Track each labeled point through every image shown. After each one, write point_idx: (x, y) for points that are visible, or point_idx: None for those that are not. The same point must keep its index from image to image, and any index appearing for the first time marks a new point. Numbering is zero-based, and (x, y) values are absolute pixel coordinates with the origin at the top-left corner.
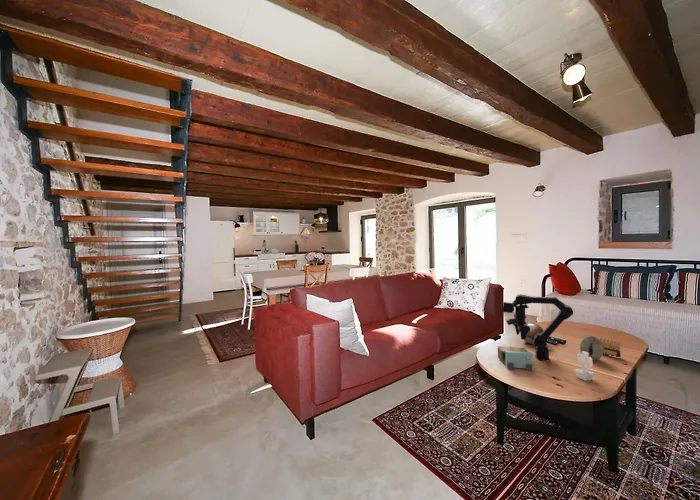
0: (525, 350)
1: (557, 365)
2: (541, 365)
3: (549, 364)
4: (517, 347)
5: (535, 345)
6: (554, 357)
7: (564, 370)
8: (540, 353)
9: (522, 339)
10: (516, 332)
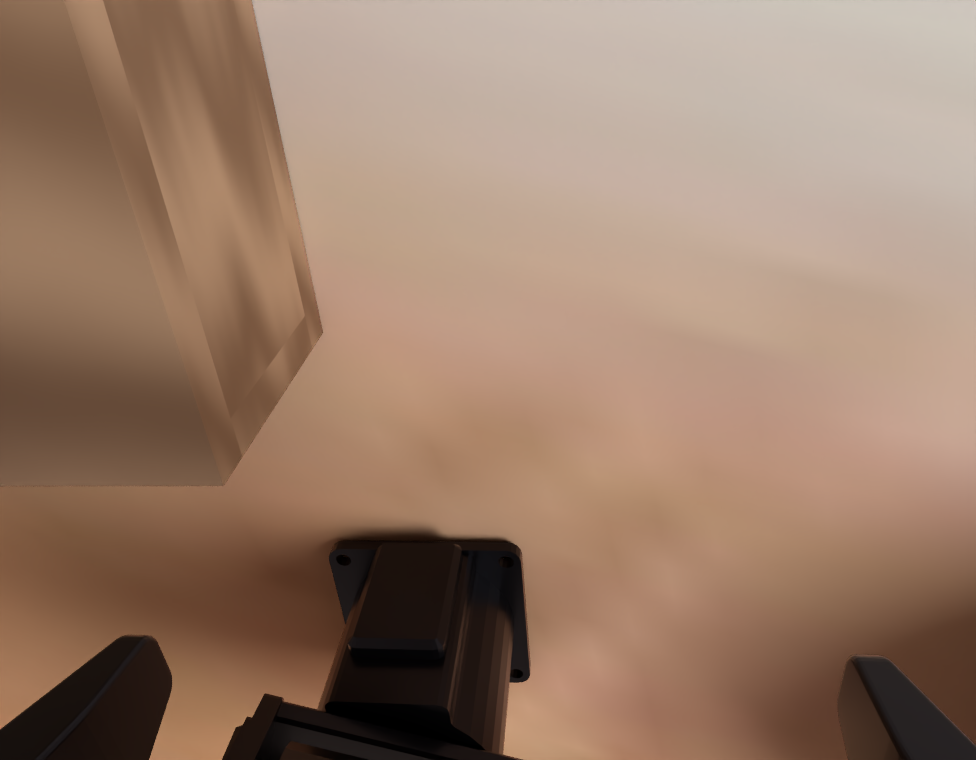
0: (3, 448)
1: (228, 684)
2: (111, 506)
3: (216, 614)
4: (152, 293)
5: (282, 758)
6: (534, 746)
7: None
8: (338, 660)
9: (143, 657)
10: (908, 744)
